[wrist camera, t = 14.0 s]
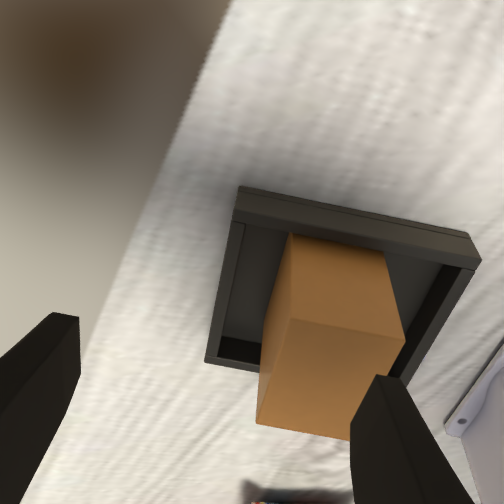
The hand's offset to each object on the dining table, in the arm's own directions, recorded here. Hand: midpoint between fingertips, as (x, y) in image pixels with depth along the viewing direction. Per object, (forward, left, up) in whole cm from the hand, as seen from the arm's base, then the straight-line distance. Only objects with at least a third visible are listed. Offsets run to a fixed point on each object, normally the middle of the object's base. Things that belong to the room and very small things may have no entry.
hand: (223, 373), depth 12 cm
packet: (-4, -4, -10) cm, 12 cm away
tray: (-5, -4, -10) cm, 12 cm away
